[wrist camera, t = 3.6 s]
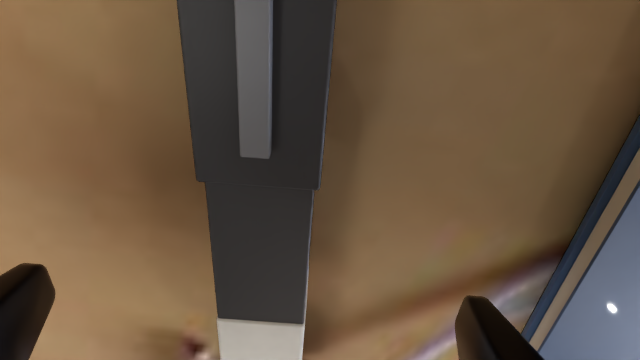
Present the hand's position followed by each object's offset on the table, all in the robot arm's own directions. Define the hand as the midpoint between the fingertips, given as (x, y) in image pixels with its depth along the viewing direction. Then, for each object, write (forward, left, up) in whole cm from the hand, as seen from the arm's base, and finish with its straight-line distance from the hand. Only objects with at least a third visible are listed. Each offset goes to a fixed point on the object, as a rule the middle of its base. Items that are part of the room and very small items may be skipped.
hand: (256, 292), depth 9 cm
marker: (0, 0, -2) cm, 3 cm away
